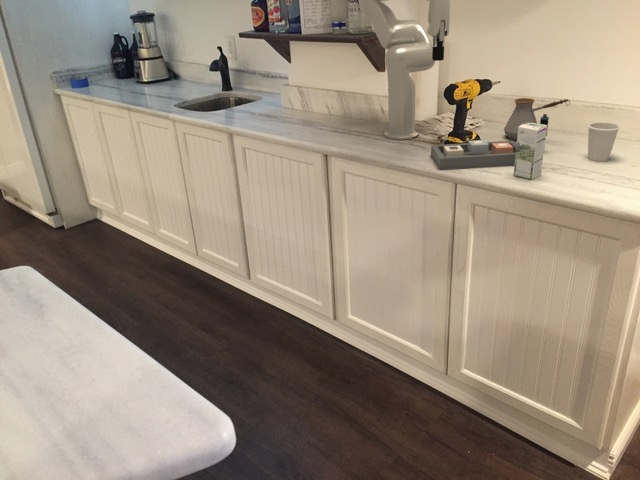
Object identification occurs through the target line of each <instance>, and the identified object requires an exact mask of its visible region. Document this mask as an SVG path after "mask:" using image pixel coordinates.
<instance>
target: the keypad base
mask: <svg viewBox="0 0 640 480" xmlns="http://www.w3.org/2000/svg"><path fill="white" fill-rule="evenodd" d="M486 142H487V143H488V144H489V148H488V152H482V153H471V152H470V151H469V149H468V142H466V143H465V142H463V143H449V144H433V145H431V146H430V147H431V148H430V157H431V158H432V160H433V161H434V164H435V165H436V166H437V168H438V170H439V171H445V170H446V171H447V170H460V169H463V170H464V169H478V168H495V167H511V166H513V167H515V156H516V146H517V142H516V141H515V140H499V141H498V140H497V141H486ZM492 143H509V144H510V145H512V146H513V153H500V154H494V153H493V152H492V151H491V150H492ZM459 145H460V146H461V148H462V149H463V150H464V152H463V156H450V157H445V155H444V154H443V152H444V146H459Z"/></svg>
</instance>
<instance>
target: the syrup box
mask: <svg viewBox="0 0 640 480" xmlns="http://www.w3.org/2000/svg"><path fill="white" fill-rule="evenodd" d="M546 131H547V132H548V128H547V125H542V124H540V123H537V124H535V123H525V124H522V125H521V126H519V127H518V136H517V140H516V144H517V146H516V156H515V166H513V168H514V170H513V176H514V177H518V178H522V179H526V180H531V181H532V180H534V179H536V178H539V177H540V176H541V175H542V173H543V171H542V170H543V161H544V160H543V159H544V153H545V147H546V139H547V138H546V137H547V136H546ZM544 146H545V147H544Z"/></svg>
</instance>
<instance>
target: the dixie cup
mask: <svg viewBox="0 0 640 480" xmlns="http://www.w3.org/2000/svg"><path fill="white" fill-rule="evenodd" d="M587 127H588V137H587V138H588V139H587V159H588V160H590V161H593V162H608V161H609V160H610V156H611V154H612V150H613V147H614V144H615V141H616V138H617V135H618V132H619V130H620V128H621V126H620V125H619V124H617V123H612V122H606V121H604V122H603V121H600V122H599V121H597V122H592V123H589V124H588V125H587Z"/></svg>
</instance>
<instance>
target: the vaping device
mask: <svg viewBox="0 0 640 480" xmlns="http://www.w3.org/2000/svg"><path fill="white" fill-rule="evenodd" d="M539 121H540V122H539V124H542V125H547V129H548V127H549V116H548V114H547V113H544V114H543V115H542V116H541V117H540V120H539ZM547 136H548V130H547V131H546V137H547ZM545 147H546V145H545V146H544V148H545Z"/></svg>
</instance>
